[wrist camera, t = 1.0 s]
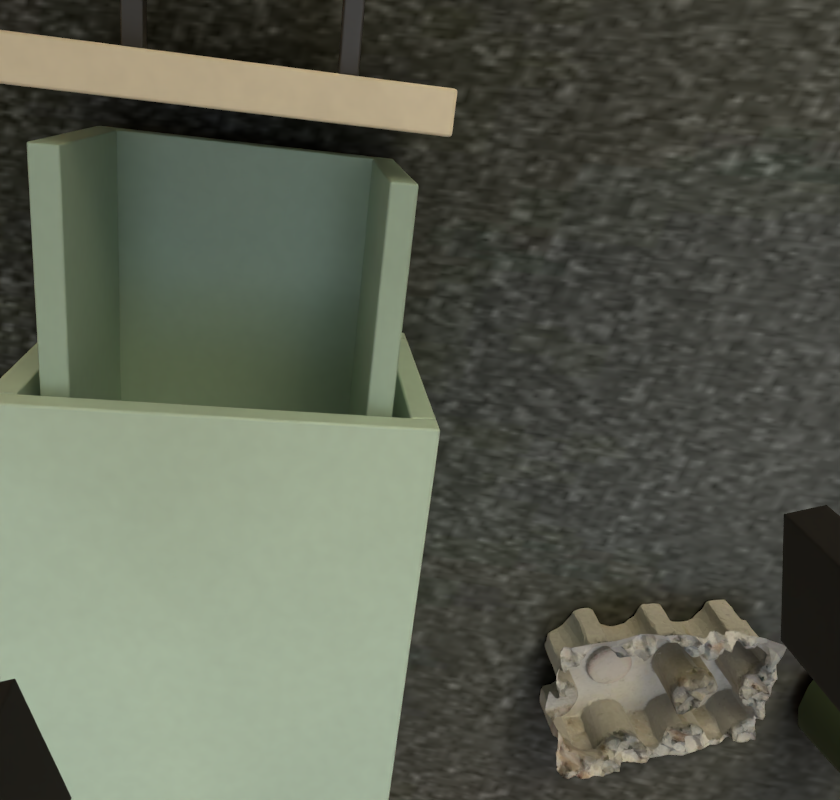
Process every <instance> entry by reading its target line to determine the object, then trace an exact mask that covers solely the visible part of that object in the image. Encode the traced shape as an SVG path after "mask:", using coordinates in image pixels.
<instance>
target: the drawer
mask: <svg viewBox="0 0 840 800" xmlns="http://www.w3.org/2000/svg"><path fill="white" fill-rule="evenodd" d="M120 10H121V45H122V46H121V45H114V44H106V43H98V42H90V41H83V40H75V39H67V38H59V37H52V36H44V35H36V34H29V33H21V32H13V31H5V30H0V84H9V85H17V86H25V87H34V88H42V89H51V90H59V91H67V92H76V93H84V94H93V95H101V96H109V97H118V98H126V99H134V100H143V101H151V102H160V103H168V104H176V105H185V106H193V107H202V108H210V109H218V110H227V111H235V112H244V113H252V114H260V115H269V116H277V117H286V118H294V119H302V120H311V121H319V122H327V123H336V124H344V125H353V126H361V127H369V128H378V129H386V130H395V131H403V132H411V133H420V134H428V135H437V136H445V137H450V136H451V135H452V131H453V123H454V115H455V107H456V99H457V90H456V89H454V88H446V87H439V86H431V85H423V84H415V83H408V82H400V81H392V80H384V79H377V78H369V77H361V76H358V75H359V69H360V57H361V45H362V33H363V22H364V10H365V0H343V10H342V23H341V36H340V49H339V63H338V73H330V72H322V71H315V70H307V69H299V68H292V67H284V66H276V65H268V64H261V63H253V62H245V61H237V60H230V59H222V58H214V57H206V56H199V55H191V54H183V53H175V52H168V51H160V50H152V49H147V0H120ZM27 160H28V178H29V196H30V214H31V232H32V250H33V268H34V286H35V304H36V323H37V341H38V359H39V377H40V395H41V396H51V397H67V398H84V399H100V400H116V401H133V402H149V403H166V404H182V405H199V406H215V407H232V408H248V409H265V410H281V411H297V412H314V413H330V414H347V415H363V416H380V417H392V413H393V404H394V396H395V387H396V378H397V370H398V361H399V352H400V344H401V335H402V326H403V318H404V309H405V300H406V291H407V283H408V274H409V265H410V257H411V248H412V239H413V231H414V222H415V213H416V205H417V196H418V184H417V183H416V182H415V181H414V180H413V179H412V178H411V177H410V176H409V175H408V174H407V173H406V172H405V171H404V170H403V169H402V168H401V167H400V166H399V165H398V164H397V163H396V162H395V161H394V160H393V159H389V158H380V157H371V156H363V155H354V154H345V153H336V152H327V151H318V150H310V149H301V148H292V147H283V146H274V145H265V144H257V143H248V142H239V141H230V140H221V139H213V138H204V137H195V136H186V135H177V134H168V133H160V132H151V131H142V130H133V129H124V128H115V127H107V126H95V127H90V128H86V129H81V130H77V131H73V132H68V133H64V134H60V135H55V136H51V137H46V138H42V139H38V140H33V141H29V142H27Z"/></svg>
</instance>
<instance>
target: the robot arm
mask: <svg viewBox="0 0 840 800" xmlns="http://www.w3.org/2000/svg"><path fill="white" fill-rule="evenodd" d="M781 641H782V642H783V643H784V644H785V646H786V647H787V648H788V649H789V651H790V652H791V653H792V654H793V655H794V657H795V658H796V659H797V660H798V661H799V663H800V664H801V665H802V666H803V668H804V669H805V670H806V671H807V672H808V674H809V675H810V676H811V677H812V679H813V680H814V681H815V682H816V683H817V685H818V686H819V687H820V688H821V690H822V691H823V692H824V693H825V694H826V696H827V697H828V698H829V699H830V701H831V702H832V703H833V704H834V705H835V707H836V708H837V709H838V710H839V712H840V516H839V515H838V514H836V513H835V512H834V511H833V510H832V509H831V508H829V507H828V506H827V505H825V506H820V507H815V508H811V509H806V510H801V511H797V512H792V513H787V514H784V536H783V577H782V619H781ZM71 798H72V797H71V795H70V793H69V791H68V789H67V787H66V785H65V783H64V781H63V779H62V776H61V774H60V772H59V770H58V768H57V766H56V764H55V762H54V760H53V757H52V755H51V753H50V751H49V749H48V747H47V745H46V743H45V741H44V738H43V736H42V734H41V732H40V730H39V728H38V726H37V724H36V722H35V719H34V717H33V715H32V713H31V711H30V709H29V707H28V705H27V703H26V700H25V698H24V696H23V694H22V692H21V690H20V688H19V686H18V684H17V681H16V679H10V680H6V681H1V682H0V800H71Z"/></svg>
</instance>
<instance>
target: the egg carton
mask: <svg viewBox="0 0 840 800" xmlns="http://www.w3.org/2000/svg"><path fill="white" fill-rule="evenodd" d="M545 648H546V651H547V654H548V657H549V659H550V661H551V664H552V666H553V669H554V671H555V674H556V681H555V682H553V683H552V684H549V685H545V686H543V687H542V689H541V693H540V704H541V706H542V709H543V711H544V714H545V716H546V719H547V722H548V725H549V726H550V728H551V732H552V734H553V736H555V737H557V738H558V745H557V747H558V749H557V752H556V758H557V765H556V769H557V771H558V772H559V774H560V776H563V778H567V779H569V778H571V777H573V776H577V777H579V778H580V779H585V778H590V777H591V776H594V775H595V776H602V777H603V776H605V775H607V774H610V773H612V772H619V770H620V764H621V762H637V763H646V762H647V761H648V759H649V758H651V757H658V756H663V755H667V754H670V755H685V754H687V753H690V752H694V751H697V750H700V749H703V748H705V747H707V746H708V745H712V744H719V743H721V742H722V741H723V739H724V738H725V737H727V736H728V737H730V738H731V739H732V740H733V741H737V742H747V741H748V740H750V739H753V740H755V738H756V732H755V728H754V724H755V721H756V718H759V719H761V720H763V719H764V717H765V701H766V700H768V697H770V696H771V687H772V686H773V684H774V682H775V681H776V680H777V679H778V678H777V671H776V664H777V663H778V662H779V661H780V659H781V658H782V656H783V654H784V652H785V650H786V648H787V647H786V646H784V645H782V644H779V643H776V642H774V641H771V640H768V639H765V638H760V637H758V636H757V635H756V633H755V632H754V631H753V630H752V629H751V627H750V626H749V624H748V623H747V622H746V621H745V620H741V619H740V618H739V617H738V615H737V614H736V613H735V612H734V610H733V608H732V607H731V606H730V605H729V604H728V603H727V602H726V601H725V600H712V601H707V602H706V603H705V604H704V607H703V608H702V609H701V610H700V611H699V612H698V613H697V614H696V615H695V616H694V617H693V619H689V620H688V621H683V622H674V621H670V620H669V618H668V616H667V615H666V613H665V611H664V610H663V608H662V607H661V605H660V604H654V603H651V604H642V605H641V606H640V607H639V608H638V610H637V612H636V614H635V615H634V616H633V617H632V618H630V619H628V620H627V621H626V622H625V623H623V624H619V625H616V626H606V625H602V624H600V623H599V621H598V619H597V617H596V615H595V613H594V611H593V610H592V609H590V608H581V609H577V610H575V611H573V613H572V615H571V616H570V617H569V618H568V619H567V620H566V621H565V622H564V624H563V625H561V626H560V627H558V628H557V629H555V630H553V631H551V632H549V633H548V635H547V640H546V642H545Z"/></svg>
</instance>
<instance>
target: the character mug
mask: <svg viewBox="0 0 840 800" xmlns="http://www.w3.org/2000/svg"><path fill="white" fill-rule="evenodd" d="M798 726H799V728H800V729H801V730H802V731H803V732H804V734H805V735H806V736H807V737H808V738H809V740H810V741H811V742H812V743H813V744H814V745H815V746H816V747H817V748H818V750H819V751H820V752H821V753H822V754H823V755H824V756H825V757H826V758H827V760H828V761H829V762H830V763H831V764H832V765H833V766H834V767H835V768H836V769H837V770H838V771H839V772H840V712H839V710H838V709H837V708H836V707H835V705H834V704H833V703H832V702H831V701H830V699H829V698H828V697H827V696H826V694H825V693H824V692H823V691H822V690H821V688H820V687H819V686H818V685H817V683H816V682H815V681H814V680H813V681H812V682H811V684H810V685H809V686H808V688H807V690H806V693H805V695H804V697H803V699H802V701H801V703H800V705H799V707H798Z"/></svg>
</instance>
